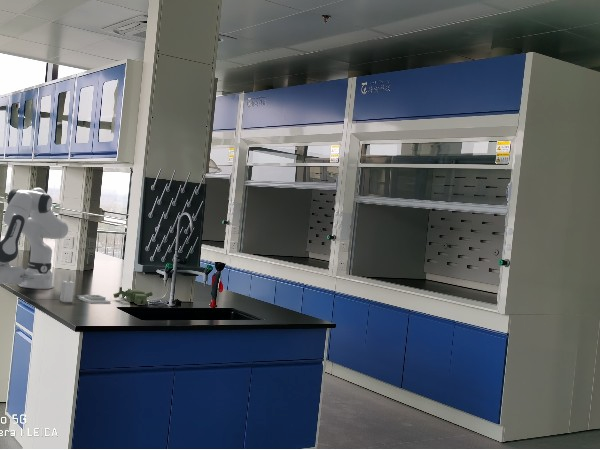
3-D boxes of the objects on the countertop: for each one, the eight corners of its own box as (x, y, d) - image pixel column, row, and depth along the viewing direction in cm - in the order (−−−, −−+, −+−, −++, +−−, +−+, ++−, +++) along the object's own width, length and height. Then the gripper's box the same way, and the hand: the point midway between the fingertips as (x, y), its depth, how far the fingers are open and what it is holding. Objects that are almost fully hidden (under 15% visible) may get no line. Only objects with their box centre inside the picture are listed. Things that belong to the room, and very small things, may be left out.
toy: (107, 296, 380) (121, 308, 354) (109, 282, 379) (123, 294, 354) (144, 297, 391) (160, 310, 365) (145, 284, 390) (162, 296, 364)
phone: (76, 296, 366) (76, 295, 366) (87, 296, 371) (87, 294, 371) (92, 301, 357) (92, 299, 357) (103, 300, 363) (103, 299, 363)
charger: (59, 300, 347) (62, 280, 347) (68, 300, 350) (70, 280, 350) (63, 302, 344) (65, 281, 344) (72, 302, 347) (74, 281, 347)
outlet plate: (78, 299, 359) (79, 293, 359) (97, 299, 366) (98, 294, 366) (90, 303, 349) (91, 298, 349) (110, 303, 356) (110, 298, 356)
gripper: (26, 271, 321) (54, 272, 331) (10, 266, 336) (37, 267, 346) (24, 284, 321) (53, 285, 331) (8, 279, 336) (36, 280, 345)
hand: (45, 276), depth 338 cm, fingers open, 8 cm apart
